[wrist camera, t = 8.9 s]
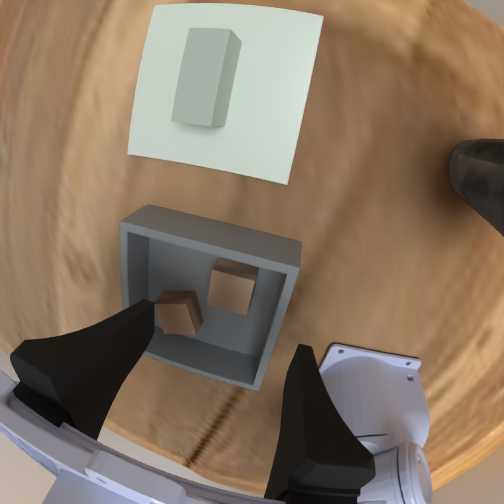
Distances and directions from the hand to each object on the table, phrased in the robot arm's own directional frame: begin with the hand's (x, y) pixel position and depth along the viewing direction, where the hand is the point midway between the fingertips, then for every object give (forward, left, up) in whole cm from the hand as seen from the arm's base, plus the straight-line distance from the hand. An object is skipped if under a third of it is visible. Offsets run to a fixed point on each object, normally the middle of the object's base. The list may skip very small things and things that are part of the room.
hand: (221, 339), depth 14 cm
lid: (+5, -12, -10) cm, 16 cm away
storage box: (+3, +4, -9) cm, 11 cm away
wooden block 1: (+5, +6, -9) cm, 12 cm away
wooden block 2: (+1, +2, -9) cm, 9 cm away
